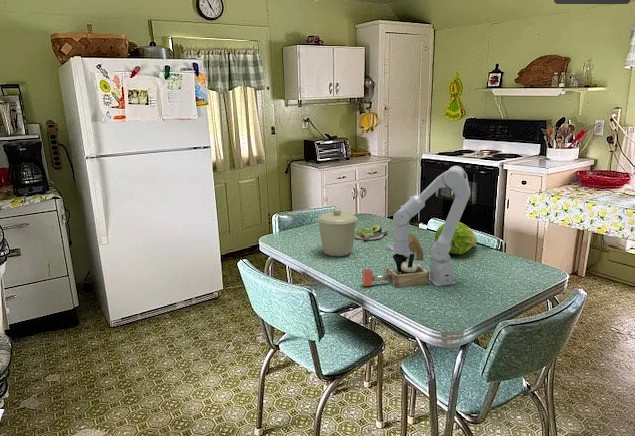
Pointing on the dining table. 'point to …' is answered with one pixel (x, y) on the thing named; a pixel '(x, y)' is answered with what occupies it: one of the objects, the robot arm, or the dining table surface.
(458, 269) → the dining table surface
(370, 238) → the salad plate
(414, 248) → the rock
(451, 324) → the dining table surface
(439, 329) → the dining table surface
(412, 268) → the cocoa
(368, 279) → the lock pin
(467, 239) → the lettuce
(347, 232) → the canister
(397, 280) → the dock
